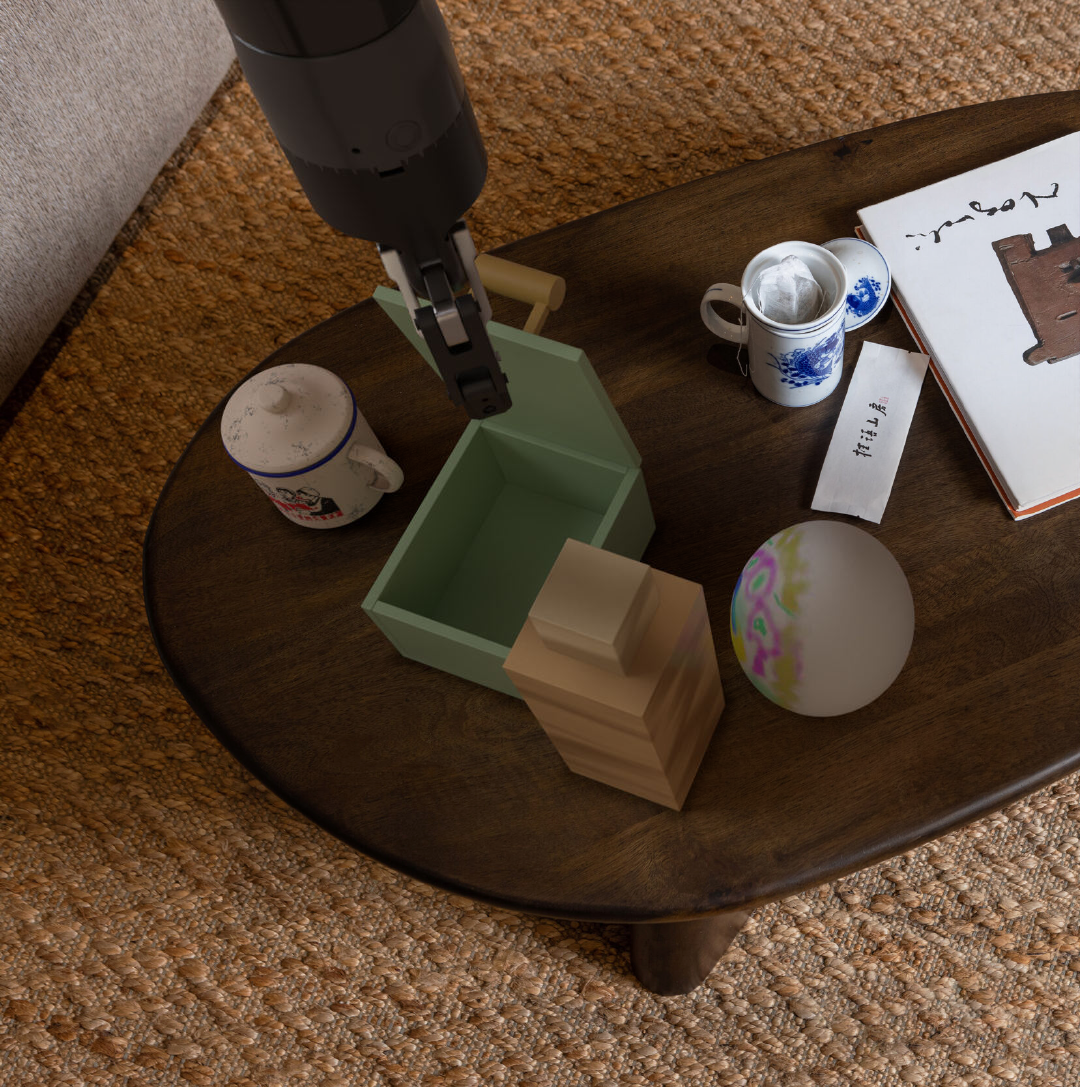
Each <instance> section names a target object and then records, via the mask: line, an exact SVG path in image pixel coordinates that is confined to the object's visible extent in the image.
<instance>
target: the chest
mask: <svg viewBox="0 0 1080 1087" xmlns="http://www.w3.org/2000/svg"><path fill="white" fill-rule="evenodd" d="M643 474H644V473H643V470H642V468H641V467H639V469H635V468H632V467H629V466H626V465H623V464H620V463H617V462H614V461H611V460H608V459H605V458H602V457H599V456H595V455H592V454H589V453H586V452H583V451H580V450H577V449H574V448H571V447H568V446H565V445H562V444H559V443H556V442H553V441H550V440H547V439H544V438H541V437H538V436H535V435H532V434H529V433H526V432H523V431H520V430H517V429H514V428H511V427H508V426H505V425H502V424H499V423H496V422H493V421H490V420H487V419H482V420H479V421H478V420H474V419H470V422H469V423H468V425H467V427H466V428H465V430H464V431H463V433H462V435H461V437H460V438H459V440H458V442H457V443H456V445H455V447H454V449H453V450H452V452H451V453H450V455H449V457H448V459H447V460H446V462H445V464H444V465H443V467H442V469H441V470H440V472H439V474H438V476H437V477H436V479H435V481H434V482H433V484H432V486H431V487H430V489H429V490H428V492H427V494H426V496H425V497H424V499H423V501H422V502H421V504H420V506H419V507H418V509H417V511H416V513H415V514H414V516H413V518H412V519H411V521H410V523H409V525H408V526H407V528H406V529H405V531H404V533H403V534H402V536H401V537H400V539H399V541H398V543H397V545H396V546H395V548H394V550H393V551H392V553H391V555H390V556H389V558H388V560H387V561H386V563H385V565H384V567H383V568H382V570H381V571H380V573H379V575H378V576H377V578H376V580H375V581H374V583H373V585H372V587H371V588H370V590H369V592H368V593H367V595H366V597H365V598H364V599H363V602H362V604H361V605H360V607H361V609H362V610H363V611H364V612H365V613H366V615H367V616H368V617H369V618H370V619H371V620H372V622H373V623H374V624H375V625H376V626H377V628H378V629H379V631H381V632H382V633H383V634H384V636H385V637H386V638H387V639H388V640H389V642H391V644H392V645H393V646H394V647H395V649H396V650H397V651H398V652H399V653H400V655H401V656H402V657H404V658H407V659H410V660H412V661H415V662H418V663H421V664H423V665H426V666H429V667H432V668H434V669H437V670H440V671H442V672H445V673H448V674H451V675H453V676H455V677H459V678H462V679H464V680H467V681H470V682H473V683H475V684H478V685H481V686H484V687H486V688H489V689H491V690H494V691H498V692H500V693H502V694H505V695H508V696H512V697H514V698H516V699H519V700H522V701H525V700H524V699H523V697H522V696H521V694H520V693H519V691H518V690H517V688H516V687H515V685H514V684H513V682H512V681H511V679H510V678H509V676H508V674H507V673H506V671H505V670H504V668H503V664H504V663H505V661H506V659H507V657H508V655H509V653H510V651H511V649H512V647H513V645H514V643H515V641H516V639H517V638H518V636H519V634H520V632H521V630H522V628H523V626H524V624H525V622H526V620H527V618H528V616H529V615H528V614H529V612H530V610H531V608H532V606H533V604H534V602H535V600H536V598H537V596H538V594H539V593H540V591H541V589H542V587H543V585H544V583H545V581H546V579H547V577H548V575H549V573H550V571H551V570H552V568H553V566H554V564H555V562H556V560H557V558H558V556H559V554H560V552H561V550H562V548H563V547H564V545H565V543H566V541H567V539H568V538H571V539H574V540H577V541H580V542H583V543H586V544H589V545H591V546H594V547H597V548H600V549H603V550H606V551H609V552H612V553H615V554H618V555H621V556H624V557H626V558H629V559H632V560H635V561H638V562H640V561H641V560H642V558H643V556H644V553H645V552H646V550H647V547H648V545H649V543H650V542H651V539H652V536H653V535H654V533H655V531H656V528H657V525H656V522H655V518H654V514H653V509H652V507H651V506H652V505H651V502H650V498H649V494H648V491H647V486H646V481H645V479H644V475H643Z"/></svg>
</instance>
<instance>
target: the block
mask: <svg viewBox="0 0 1080 1087" xmlns="http://www.w3.org/2000/svg"><path fill="white" fill-rule="evenodd" d="M651 568H652V567H651V565H649V564H646V563H644V562H638V561H635V560H632V559H629V558H626V557H624V556H621V555H618V554H615V553H612V552H609V551H606V550H603V549H600V548H597V547H594V546H591V545H589V544H586V543H583V542H580V541H577V540H574V539H571V538H568V539H567V541H566V543H565V545H564V547H563V548H562V550H561V552H560V554H559V556H558V558H557V560H556V562H555V564H554V566H553V568H552V570H551V571H550V573H549V575H548V577H547V579H546V581H545V583H544V585H543V587H542V589H541V591H540V593H539V594H538V596H537V598H536V600H535V602H534V604H533V606H532V608H531V610H530V612H529V614H528V615H529V617H530V619H531V621H532V623H533V625H534V626H535V628H536V630H537V632H538V634H539V636H540V637H541V639H542V641H543V643H544V645H545V647H546V648H547V649H549V650H552V651H555V652H558V653H560V654H563V655H566V656H569V657H572V658H574V659H577V660H580V661H583V662H585V663H588V664H591V665H594V666H597V667H599V668H602V669H605V670H608V671H611V672H613V673H616V674H619V675H622V676H626V674H627V672H628V670H629V668H630V666H631V664H632V661H633V659H634V657H635V655H636V653H637V651H638V649H639V647H640V644H641V642H642V640H643V638H644V636H645V634H646V632H647V629H648V627H649V625H650V623H651V621H652V619H653V617H654V615H655V612H656V610H657V608H658V606H659V604H660V599H659V596H658V592H657V588H656V585H655V581H654V578H653V574H652V571H651Z"/></svg>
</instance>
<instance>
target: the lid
mask: <svg viewBox="0 0 1080 1087" xmlns="http://www.w3.org/2000/svg"><path fill="white" fill-rule="evenodd" d="M474 262H475V265H476V268H477V270H478V273H479V276H480V279H481V281H482V284H483V287H484V290H485V293H486V294H487V293H488V292H490V293H492V294H496V295H500V296H503V297H506V298H509V299H512V300H514V301H519V302H521V303H525V304H527V305H531V306H533V307H532V311H531V312H530V314H529V316H528V318H527V320H526V323H525V325H524V327H523V329H518V328H515V327H513V326H509V325H506V324H503V323H500V322H497V321H494V320H491V319H490V321H489V322H488V323H487V324H486V328H487V331H488V333H489V336H490V339H491V342H492V344H493V347H494V350H495V351H497V350H498V352H499V354H500V357H501V360H502V361H499V364H500V367H501V371H502V373H504V372H505V373H506V375H507V378H508V381H509V383H506V385H507V388H508V391H509V394H510V397H511V400H512V403H513V405H512V407H511V408H510V409H509V410H507V412H505V413H502V414H498V415H495V416H492V417H489V418H486V419H487V420H490V421H493V422H496V423H499V424H502V425H505V426H508V427H511V428H514V429H517V430H520V431H523V432H526V433H529V434H532V435H535V436H538V437H541V438H544V439H547V440H550V441H553V442H556V443H559V444H562V445H565V446H568V447H571V448H574V449H577V450H580V451H583V452H586V453H589V454H592V455H595V456H599V457H602V458H605V459H608V460H611V461H614V462H617V463H620V464H623V465H626V466H629V467H632V468H635V469H639V468H640V467H641V464H642V462H643V458H642V456H641V455H640V452H639V451H638V449H637V447H636V445H635V443H634V442H633V440H632V437H631V436H630V434H629V433H628V430H627V429H626V426H625V425H624V423H623V421H622V419H621V417H620V415H619V413H618V412H617V410H616V408H615V406H614V405H613V402H612V401H611V399H610V397H609V395H608V394H607V391H606V389H605V387H604V385H603V384H602V381H601V380H600V378H599V376H598V375H597V373H596V371H595V369H594V367H593V365H592V363H591V362H590V360H589V358H588V356H587V354H586V352H585V351H584V349H581V348H578V347H575V346H572V345H569V344H566V343H563V342H560V341H556V340H554V339H550V338H547V337H544V336H541V335H540V333H541V331H542V329H543V327H544V324H545V322H546V320H547V318H548V316H549V314H550V312H556V311H558V310H559V308H560V307H561V305H562V304H563V302H564V298H565V294H566V289H567V288H566V281H565V278H563V277H561V276H558V275H555V274H552V273H548V272H546V271H542V270H539V269H537V268H533V267H530V266H526V265H523V264H520V263H516V262H514V261H510V260H507V259H504V258H500V257H497V256H494V255H491V254H487V253H480V254H479V255H478V256H476V257H475V259H474ZM376 286H377V287H376V288H375V290H374V292H373V294H372V298H373V299H374V300H375V302H377V304H378V305H379V306H380V308H382V310H383V311H384V312H385V314H387V315H388V317H389V318H390V319H391V320H392V321H393V323H394V324H395V325H396V326H397V328H398V329H399V330H400V331H401V332H402V334H403V335H404V336H405V337H406V338H407V340H409V342H410V343H411V344H412V346H413V347H414V348H415V349H416V350H417V352H419V354H420V355H421V356H422V357H423V359H424V360H425V361H426V362H427V363H428V365H429V366H430V367H431V368H432V369H433V371H434V372H435V373H436V374H437V376H439V378H440V379H441V380H442V382H444V380H443V378H442V376H441V374H440V371H439V369H438V367H437V365H436V363H435V361H434V358H433V356H432V354H431V352H430V350H429V347H428V345H427V343H426V341H425V339H422V338H421V337H420V336H419V335H418V334H417V332H416V329H415V327H414V324H413V322H412V319H411V317H410V314H409V312H408V309H407V307H406V304H405V302H404V299H403V296H402V294H401V291H400V290H396V289H393V288H390V287H387V286H384V285H380V284H378V285H376ZM469 293H472V296H473V297H474V294H473V291H472V288H471V287H470V289H469V291H468V293H467V294H469ZM417 298H418V300H419V303H420V306H421V307H425V306H428V305H431V306H432V303H431V300H429V299H426V298H421V297H419V296H417Z"/></svg>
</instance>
